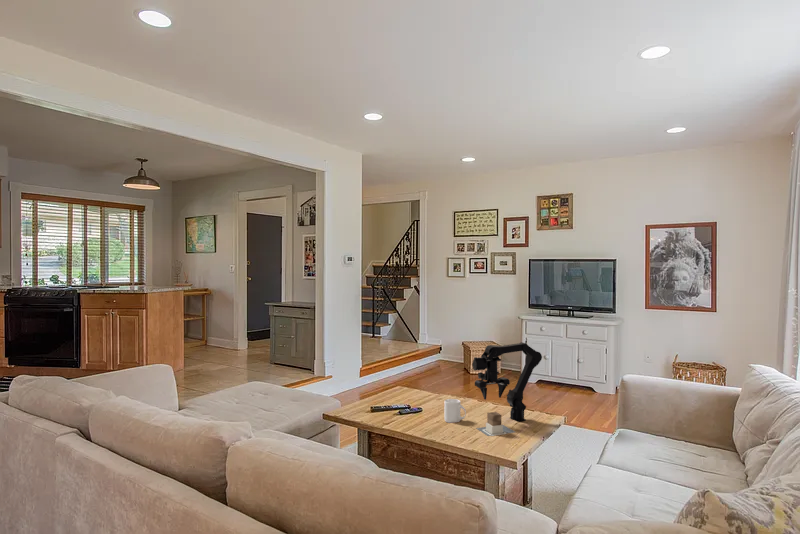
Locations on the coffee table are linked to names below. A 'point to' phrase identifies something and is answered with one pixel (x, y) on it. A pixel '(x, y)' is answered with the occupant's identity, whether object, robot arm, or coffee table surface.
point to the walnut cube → (494, 418)
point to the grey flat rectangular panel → (505, 431)
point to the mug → (453, 410)
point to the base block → (494, 429)
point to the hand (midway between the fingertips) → (492, 398)
